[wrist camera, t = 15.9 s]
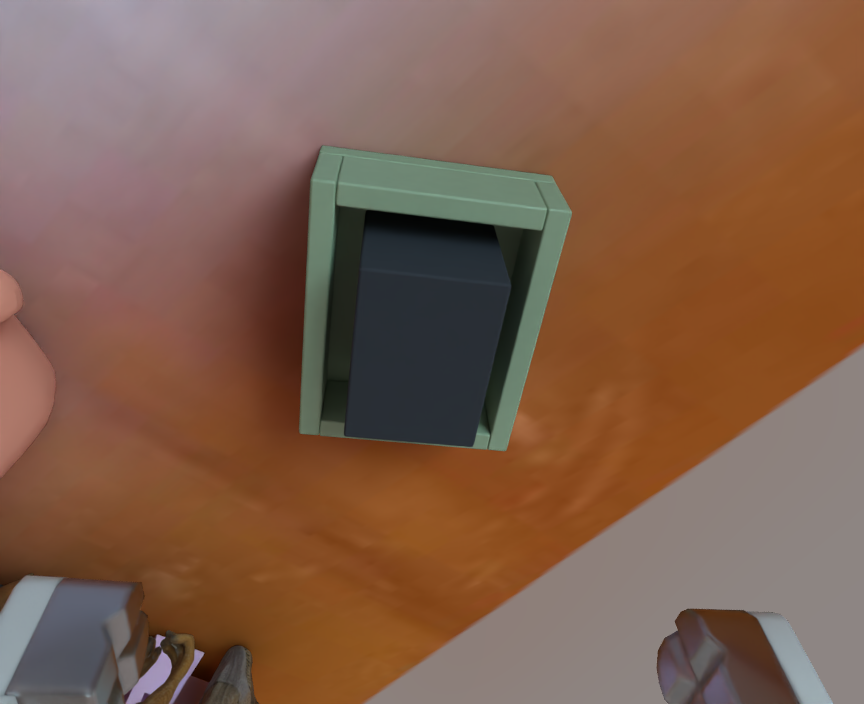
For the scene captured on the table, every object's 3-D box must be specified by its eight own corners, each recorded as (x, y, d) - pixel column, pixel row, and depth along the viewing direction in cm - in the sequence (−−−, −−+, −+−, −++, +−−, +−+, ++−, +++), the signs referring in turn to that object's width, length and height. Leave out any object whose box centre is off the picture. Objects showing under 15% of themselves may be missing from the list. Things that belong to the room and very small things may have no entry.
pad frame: (308, 381, 21) (298, 434, 19) (321, 144, 17) (310, 178, 15) (496, 398, 22) (506, 452, 20) (552, 175, 18) (573, 212, 16)
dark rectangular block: (351, 362, 20) (343, 437, 17) (365, 208, 18) (358, 267, 15) (463, 372, 21) (473, 448, 18) (494, 224, 18) (512, 285, 15)
